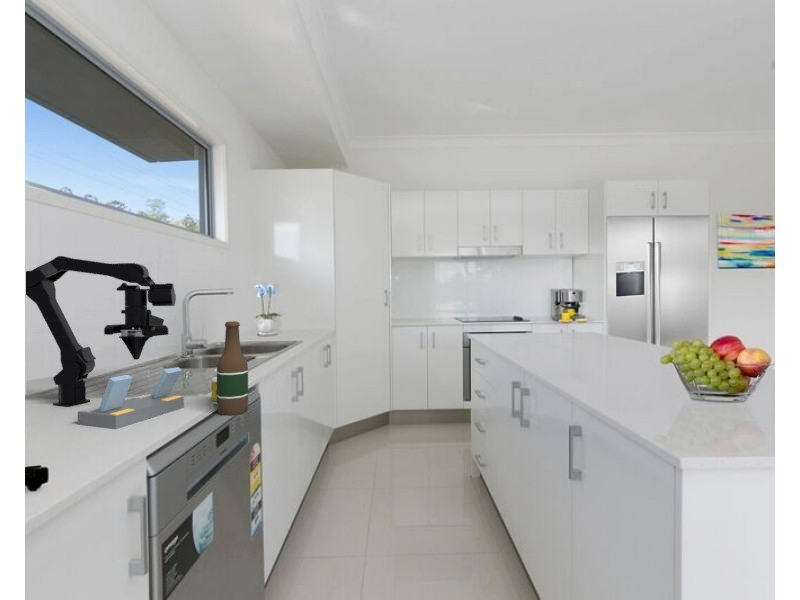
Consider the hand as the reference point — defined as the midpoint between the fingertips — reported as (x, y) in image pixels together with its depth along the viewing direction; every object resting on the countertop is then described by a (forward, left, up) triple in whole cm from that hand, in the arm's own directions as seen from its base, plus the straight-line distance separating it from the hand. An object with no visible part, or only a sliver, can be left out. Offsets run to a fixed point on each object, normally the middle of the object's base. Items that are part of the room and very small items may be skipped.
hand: (136, 359), depth 136 cm
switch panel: (+14, -13, -12) cm, 23 cm away
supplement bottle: (+26, +5, -12) cm, 29 cm away
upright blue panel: (+15, -21, -8) cm, 27 cm away
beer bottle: (+36, -3, -12) cm, 38 cm away
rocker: (+15, -6, -8) cm, 18 cm away
